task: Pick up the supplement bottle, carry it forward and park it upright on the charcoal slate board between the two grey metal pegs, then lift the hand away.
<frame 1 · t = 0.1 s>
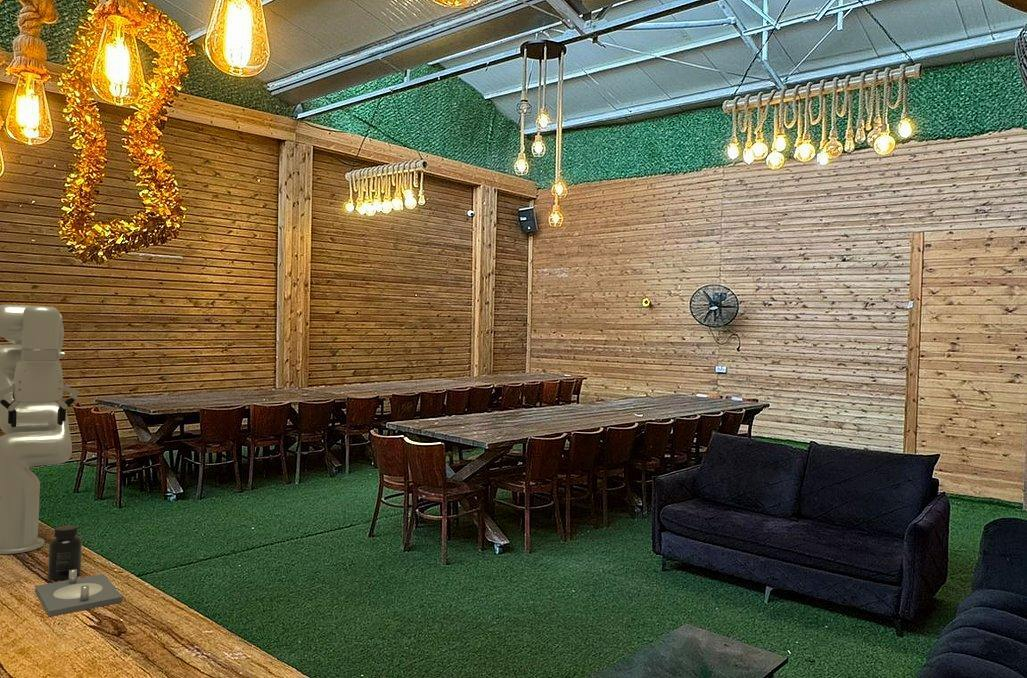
hand: (37, 425, 174), 37 cm above the table, tool pointing down, fingers open, 9 cm apart
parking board: (78, 596, 161), on the table
supplement bottle: (64, 577, 173), on the table
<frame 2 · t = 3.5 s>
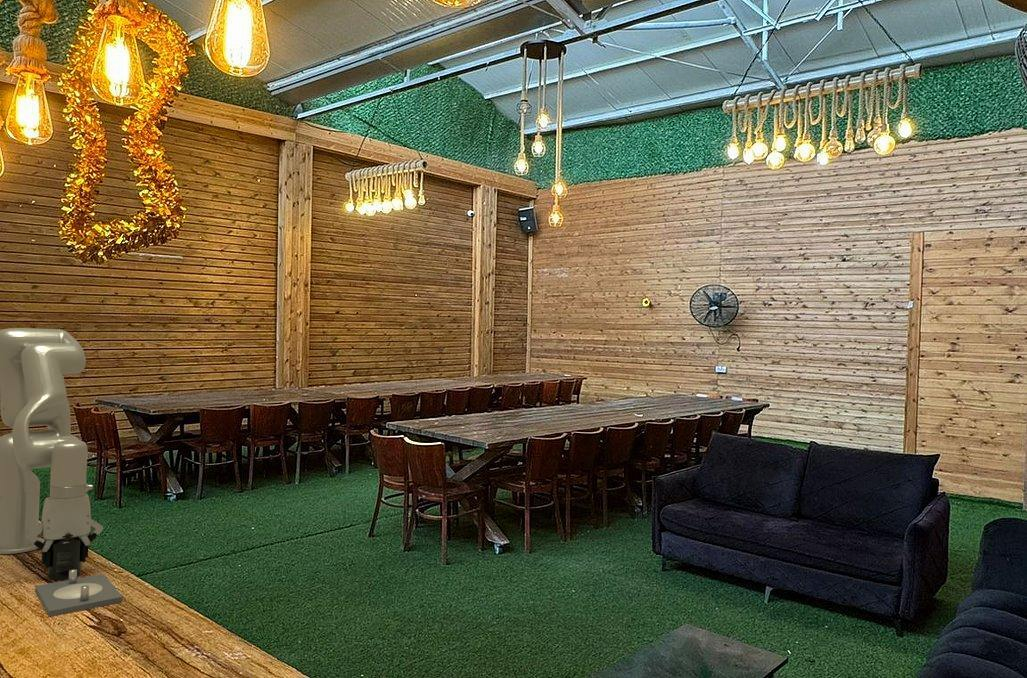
hand: (65, 563, 173), 3 cm above the table, tool pointing down, fingers closed on supplement bottle, 6 cm apart
supplement bottle: (64, 577, 173), on the table, touching gripper
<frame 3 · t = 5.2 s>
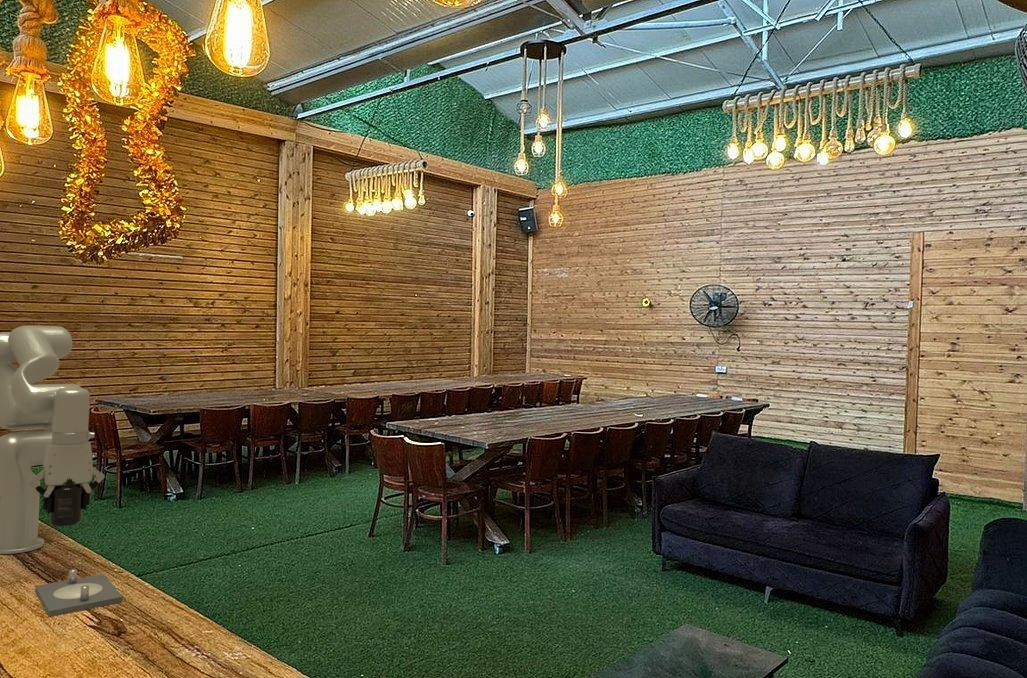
hand: (66, 509, 173), 16 cm above the table, tool pointing down, fingers closed on supplement bottle, 6 cm apart
supplement bottle: (65, 523, 173), point 13 cm above the table, touching gripper
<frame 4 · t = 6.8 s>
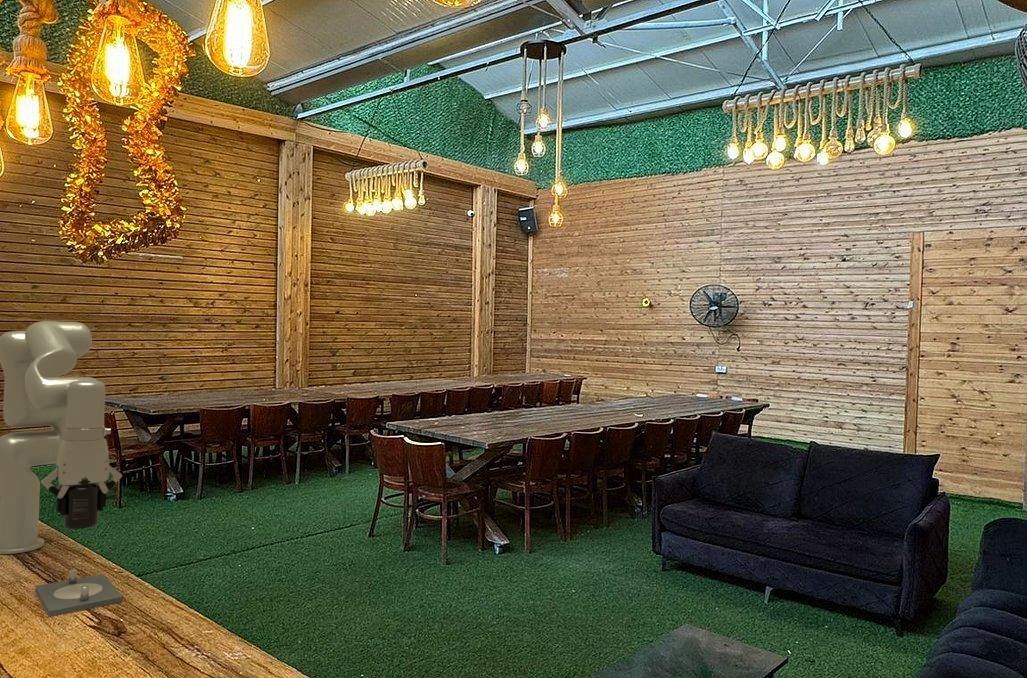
hand: (81, 511, 161), 20 cm above the table, tool pointing down, fingers closed on supplement bottle, 6 cm apart
supplement bottle: (80, 526, 161), point 16 cm above the table, touching gripper
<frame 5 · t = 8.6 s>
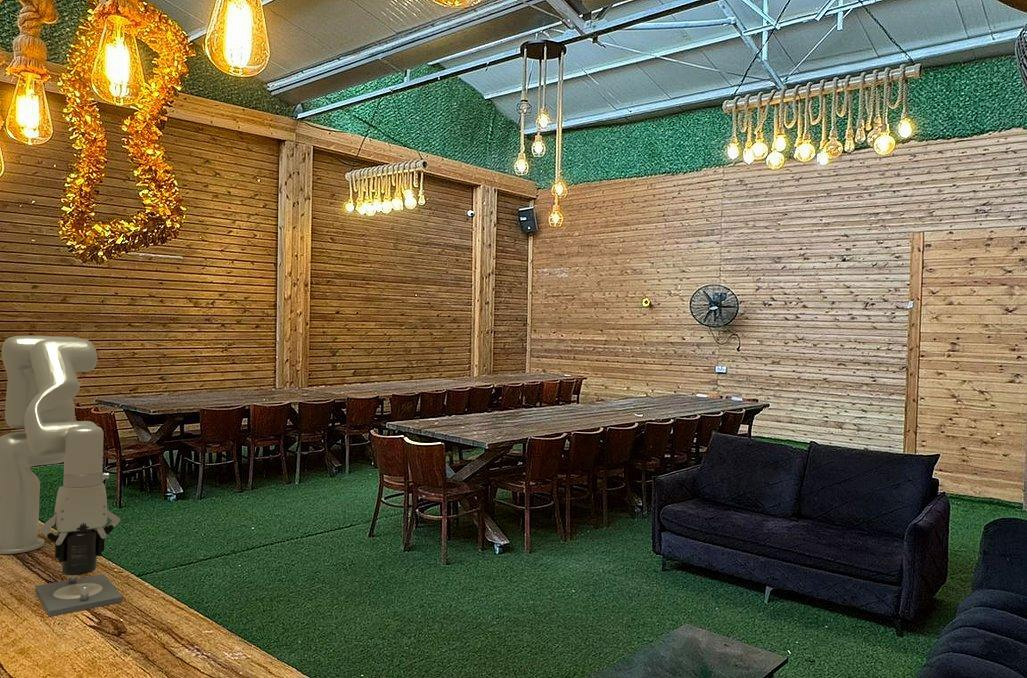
hand: (79, 557, 161), 9 cm above the table, tool pointing down, fingers closed on supplement bottle, 6 cm apart
supplement bottle: (79, 572, 161), point 6 cm above the table, touching gripper
when the fingers open (6 cm above the table, at t = 10.3 s): supplement bottle stays where it is, resting on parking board.
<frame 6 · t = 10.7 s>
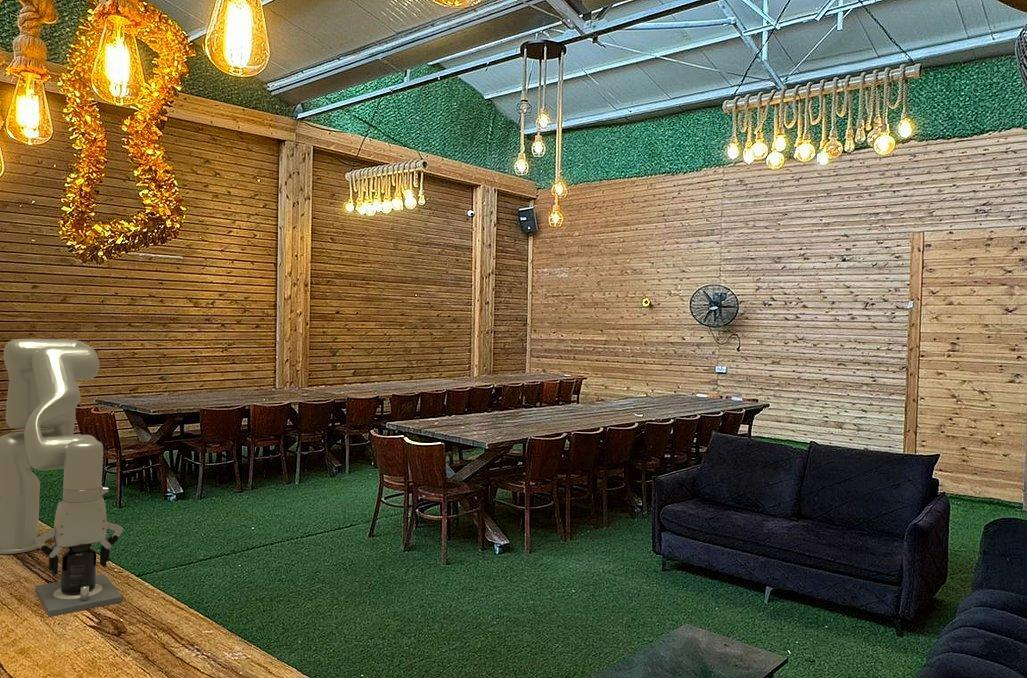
hand: (79, 569, 161), 6 cm above the table, tool pointing down, fingers open, 9 cm apart
supplement bottle: (78, 591, 161), point 1 cm above the table, touching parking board
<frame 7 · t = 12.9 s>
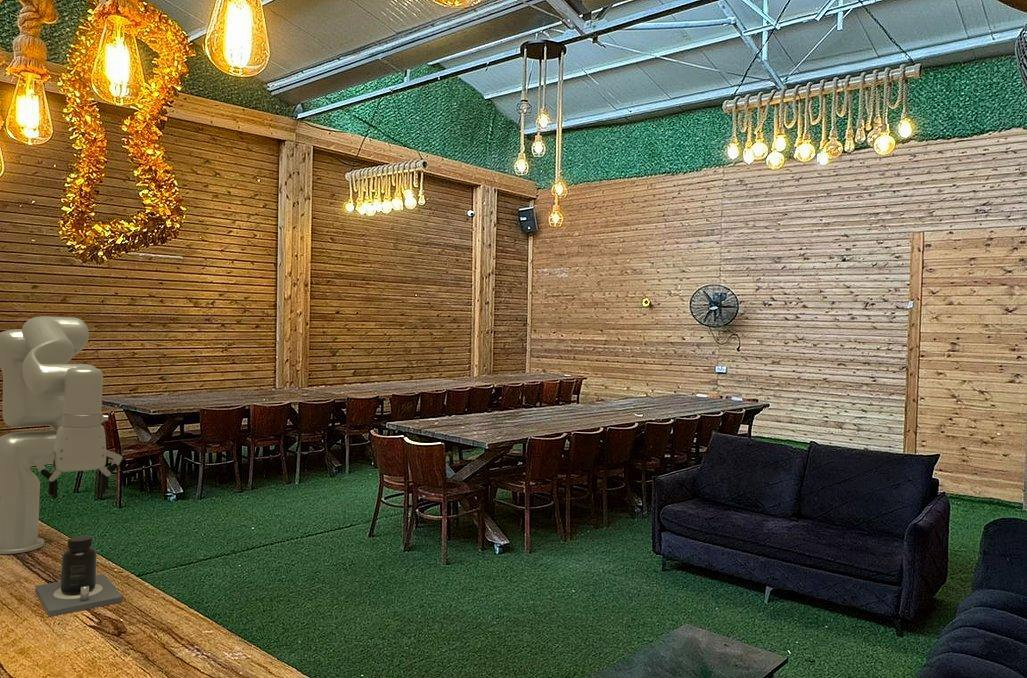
hand: (78, 494, 162), 23 cm above the table, tool pointing down, fingers open, 9 cm apart
nothing on the table moved.
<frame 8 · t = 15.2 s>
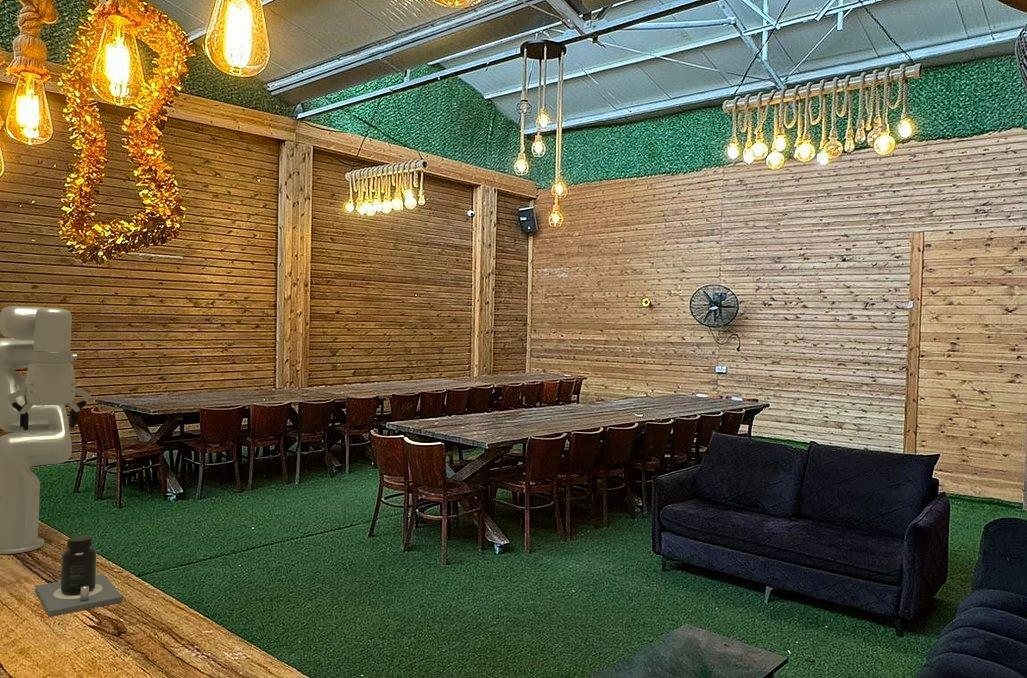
hand: (49, 428, 172), 36 cm above the table, tool pointing down, fingers open, 9 cm apart
nothing on the table moved.
at the end: supplement bottle 0.2 cm off-centre on the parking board, point 1.1 cm above the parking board's base; supplement bottle tilted 0°; the gripper is holding nothing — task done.
